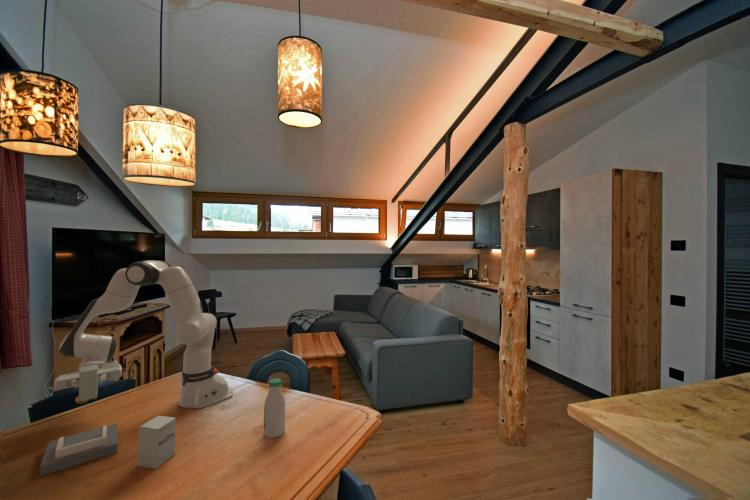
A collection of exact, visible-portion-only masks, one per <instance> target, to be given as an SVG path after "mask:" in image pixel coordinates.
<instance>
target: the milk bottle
mask: <svg viewBox="0 0 750 500" xmlns="http://www.w3.org/2000/svg"><path fill="white" fill-rule="evenodd" d="M282 384H283V383H282V379H281V378H277V377H276V378H272V379H270V380H269V381H268V388H269V389H268V393H267V395H266V397H265V400H264V406H263V408H264V409H263V411H264V412H263V435H264V437H265V438H269V439H276V438H279V437H281V436H283V435H284V433H285V431H286V399H285V394H284V393H283V391H282ZM278 436H279V437H278ZM275 437H276V438H275Z"/></svg>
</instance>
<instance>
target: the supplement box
mask: <svg viewBox="0 0 750 500" xmlns="http://www.w3.org/2000/svg"><path fill="white" fill-rule="evenodd" d="M176 419H177V418H176V417H174V416H173V417H171V416H165V415H157V416H155V417H154V418H152V419H150V420H148V421H146V422H145V423H144V424H142V425H140V426H138V436H137V437H138V441H137V442H138V443H137V444H138V445H137V466H138V467H142V468H148V469H154V470H157V469H158V468H159V467H160V466H162V465H163V464H164V463H165V462H167V461H168V460H170V459H171V458H172V457H173V456H175V453H176V424H177V423H176V421H177V420H176Z"/></svg>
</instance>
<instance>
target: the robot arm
mask: <svg viewBox="0 0 750 500" xmlns="http://www.w3.org/2000/svg"><path fill="white" fill-rule="evenodd" d="M156 284H157V285H160V286H161V287H162V289H163V290H164V293H165V295H166V297H167V299H168V301H169V304H170V306H171V308H172V311H173V313H174V317H175V318H174V319H175V325H176V329H175V337H176V340H177V341H178V342H179V343H181V344H182V345H186V348H185V350H184V352H183V356H182V357H183V361H182V362H183V363H182V367H183V368H182V371H181V379H180V380H181V391H180V397H179V399H178V403H177V405H178V406H179V407H180V408H189V409H190V408H194V409H201V408H202V409H203V408H205V407H208V406H211V405H213V404H217V403H219V402H221V401H225V400H227V399H231V398H233V396H234V390H233V388H232V387H230V386H229V385H228V382H227V380H226V379H225V378H224V377H222V376H220V375H218V373H219V370H218V369H217V368H215V367H214V366H213V365H212V347H213V343H214V337H215V330H216V327H217V324H218V322H217V321H218V320H217V317H216V316H215V315H214V314H213V313H210V312H209V313H208V312H202V310H201V306H200V305H201V299H200V297H199V294H198V293H197V290H196V288H195V286H194V285H193V284H194V283H193V282H192V280H191V278H190V277H189V275H188V273H187V272H186V270H184V269H183V268H182V267H181V266H178V265H175V266H173V265H171V264H170V263H168V262H167V261H164V260H153V259H152V260H151V259H149V260H148V259H147V260H141V261H140V260H139V261H136V262H133V263H131V264H130V265H129V266H127V267H125V268H124V267H123V268H120V269H117V271H115V273H114V274H113V275H112V277H111V280H110V281H109V283H108V285H107V287H106V290H105V292H104V293H103V294H102V295H101V296H100V297H99V298H95V299H93V300H91V301H90V303H88V305H87V306H86V308H85V309H84V310H83V311H82V313H81V315H80V316H79V318H78V319H77V321H76V322H75V323H74V325H73V327H71V328H72V329H70V331H69V332H68V333H67V335H66V336H64V338H63V339H62V340H61V342H60V344H59V346H58V347H59V348H58V352H59V354H60V355H61V356H62V357H64V358H83V359H82V361H81V362H80V363H79V365H78V369H77V371H76V372H70V373H65V374H61V375H58V376H57V377H56V378H55V380H54V381H53V390H54V391H58V390H64V389H69V388H74V389H76V388H79V372H80V369H81V368H82V367H88V366H93V365H98V379H97V383H98V384H100V383H103V382H105V381H109V380H114V379H119V378H122V377H123V366H122V365H121V364H120V363H118V360H112V359H113V357H114V356H115V353H116V350H117V340H116V338H115V337H114V336H110V335H101V334H100V335H99V334H90V333H84V331H85V330H86V328H87V327H88V325H89V323H90V322H91V321H92V320H93V319H94V318H95V317H98V316H101V315H105V314H112V313H114V314H115V313H118V312H121V311H125V310H127V309H129V308H130V307H131V306H132V305H133V303H134V302H135V299H136V298H137V295H138V292H139V289H140V288H141V287H143V286H152V285H156Z"/></svg>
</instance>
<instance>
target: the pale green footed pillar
mask: <svg viewBox="0 0 750 500" xmlns="http://www.w3.org/2000/svg"><path fill="white" fill-rule="evenodd" d="M97 379H98V365H93V366H88V367H82V368H81V369H80V372H79V387H78V402H79V404H82V403H84V401H88V400H93V401H96V400H97V399H98V392H99V389H98V388H99V386H98V384H99V383H97Z"/></svg>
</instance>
